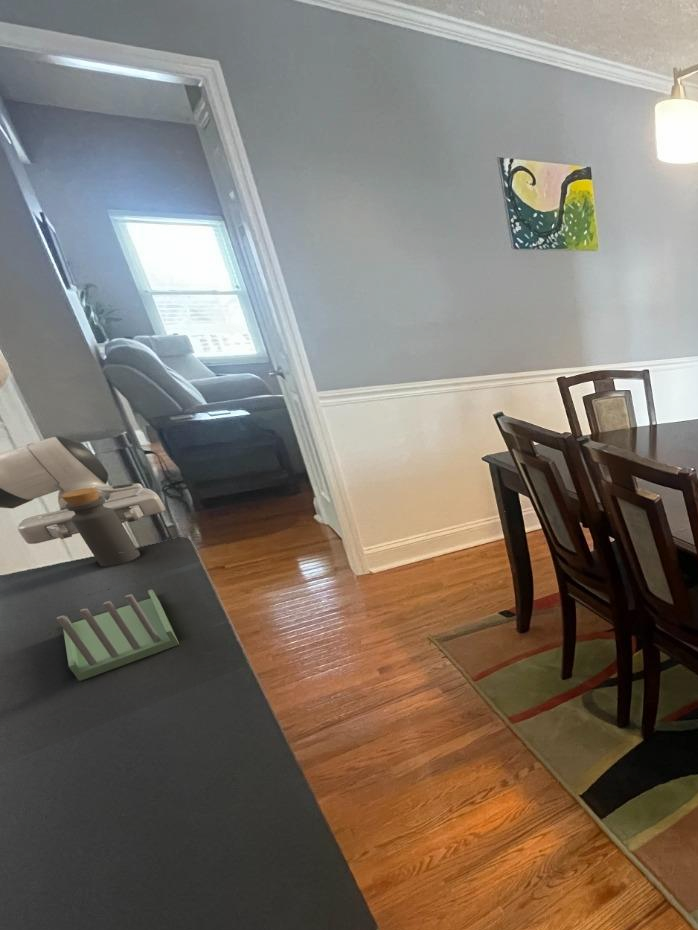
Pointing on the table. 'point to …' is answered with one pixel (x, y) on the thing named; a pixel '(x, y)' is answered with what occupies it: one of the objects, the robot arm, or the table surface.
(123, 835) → the table surface
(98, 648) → the drying rack
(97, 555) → the bottle
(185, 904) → the table surface
